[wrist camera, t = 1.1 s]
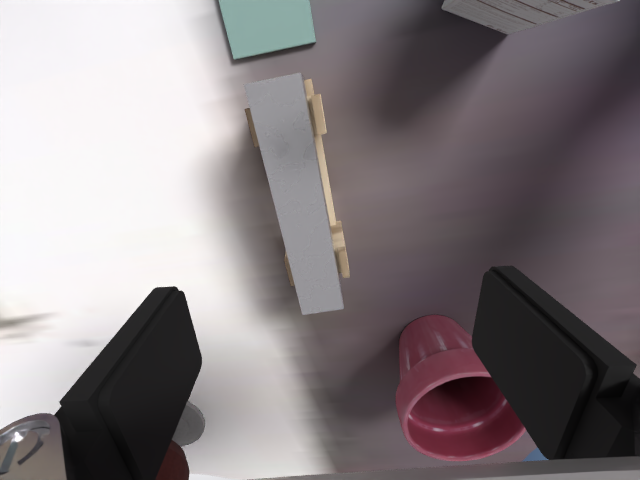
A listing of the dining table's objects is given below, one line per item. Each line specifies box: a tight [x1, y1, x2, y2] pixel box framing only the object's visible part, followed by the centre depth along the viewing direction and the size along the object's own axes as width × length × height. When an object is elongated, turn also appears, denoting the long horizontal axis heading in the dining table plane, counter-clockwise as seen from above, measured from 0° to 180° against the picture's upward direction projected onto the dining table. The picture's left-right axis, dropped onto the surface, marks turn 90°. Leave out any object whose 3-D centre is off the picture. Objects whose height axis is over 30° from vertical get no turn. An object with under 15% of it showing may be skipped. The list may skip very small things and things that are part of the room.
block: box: [244, 73, 344, 315], centre depth 27 cm, size 20×4×4 cm, turn 10°
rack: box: [245, 79, 350, 286], centre depth 32 cm, size 6×20×8 cm, turn 10°
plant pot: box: [396, 315, 526, 461], centre depth 39 cm, size 14×14×13 cm
